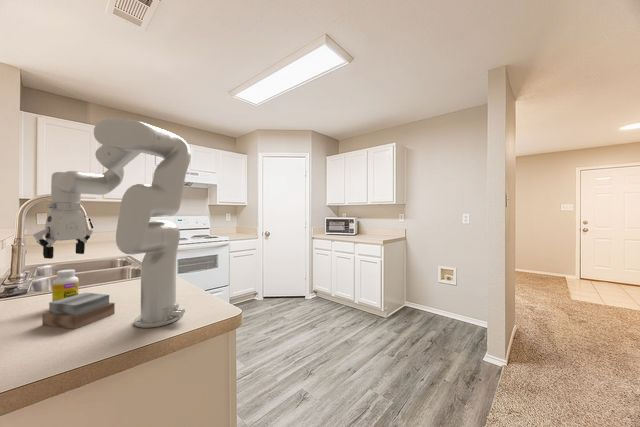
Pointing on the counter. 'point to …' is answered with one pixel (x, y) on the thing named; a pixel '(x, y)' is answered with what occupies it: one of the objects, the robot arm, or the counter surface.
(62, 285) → the supplement bottle
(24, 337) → the counter surface
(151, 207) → the robot arm
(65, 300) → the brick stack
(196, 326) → the counter surface
